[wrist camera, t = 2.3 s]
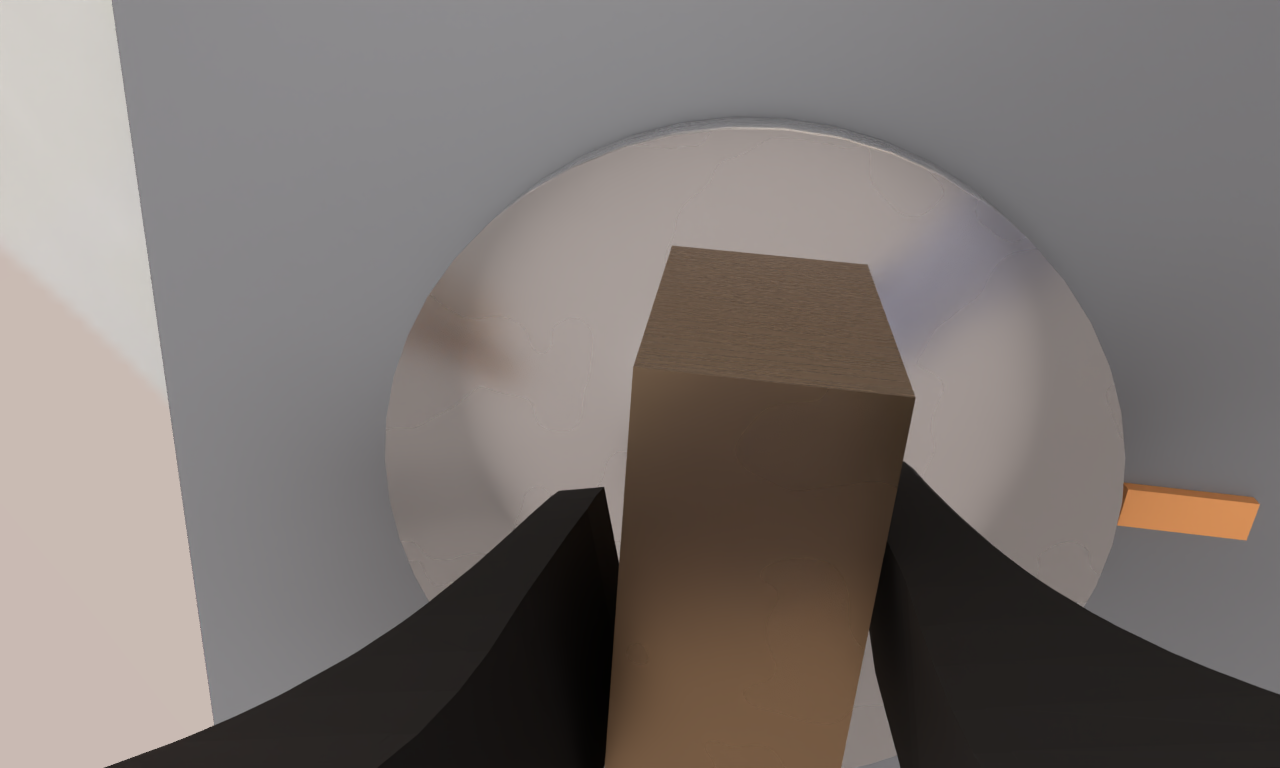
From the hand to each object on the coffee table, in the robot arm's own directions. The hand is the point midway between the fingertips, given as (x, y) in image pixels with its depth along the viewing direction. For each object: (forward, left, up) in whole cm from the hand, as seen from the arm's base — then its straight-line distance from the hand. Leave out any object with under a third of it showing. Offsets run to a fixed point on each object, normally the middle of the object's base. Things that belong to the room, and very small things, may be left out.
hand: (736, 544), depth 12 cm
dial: (0, 0, -2) cm, 2 cm away
